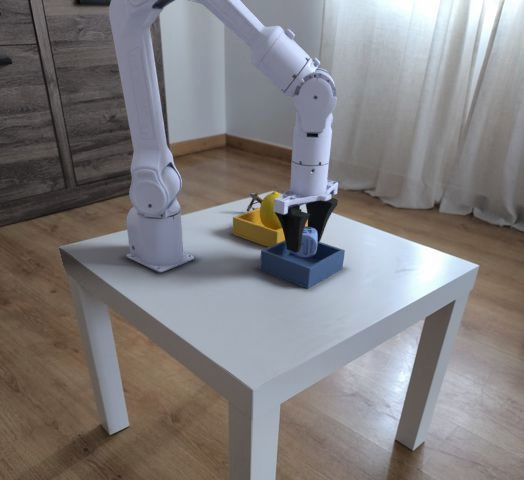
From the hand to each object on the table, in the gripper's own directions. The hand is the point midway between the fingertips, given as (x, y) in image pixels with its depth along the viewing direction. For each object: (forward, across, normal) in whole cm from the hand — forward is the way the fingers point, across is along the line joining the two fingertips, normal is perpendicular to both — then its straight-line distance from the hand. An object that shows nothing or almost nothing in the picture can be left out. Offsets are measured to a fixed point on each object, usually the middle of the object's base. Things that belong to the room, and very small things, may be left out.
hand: (303, 245), depth 82 cm
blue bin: (+4, 0, 0) cm, 4 cm away
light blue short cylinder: (+2, 0, 0) cm, 2 cm away
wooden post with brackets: (+5, +16, +22) cm, 28 cm away
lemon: (+4, +9, +14) cm, 17 cm away
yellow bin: (+4, +9, +14) cm, 17 cm away
